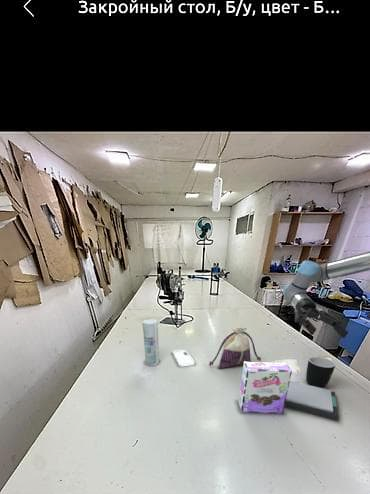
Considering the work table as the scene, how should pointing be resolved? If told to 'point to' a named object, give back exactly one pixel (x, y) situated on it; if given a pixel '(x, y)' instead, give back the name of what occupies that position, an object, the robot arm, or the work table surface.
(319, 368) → the mug
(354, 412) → the work table surface
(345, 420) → the work table surface
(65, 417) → the work table surface
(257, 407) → the candy box
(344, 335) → the robot arm
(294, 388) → the scale
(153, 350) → the spray can
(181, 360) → the phone case
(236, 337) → the pouch
